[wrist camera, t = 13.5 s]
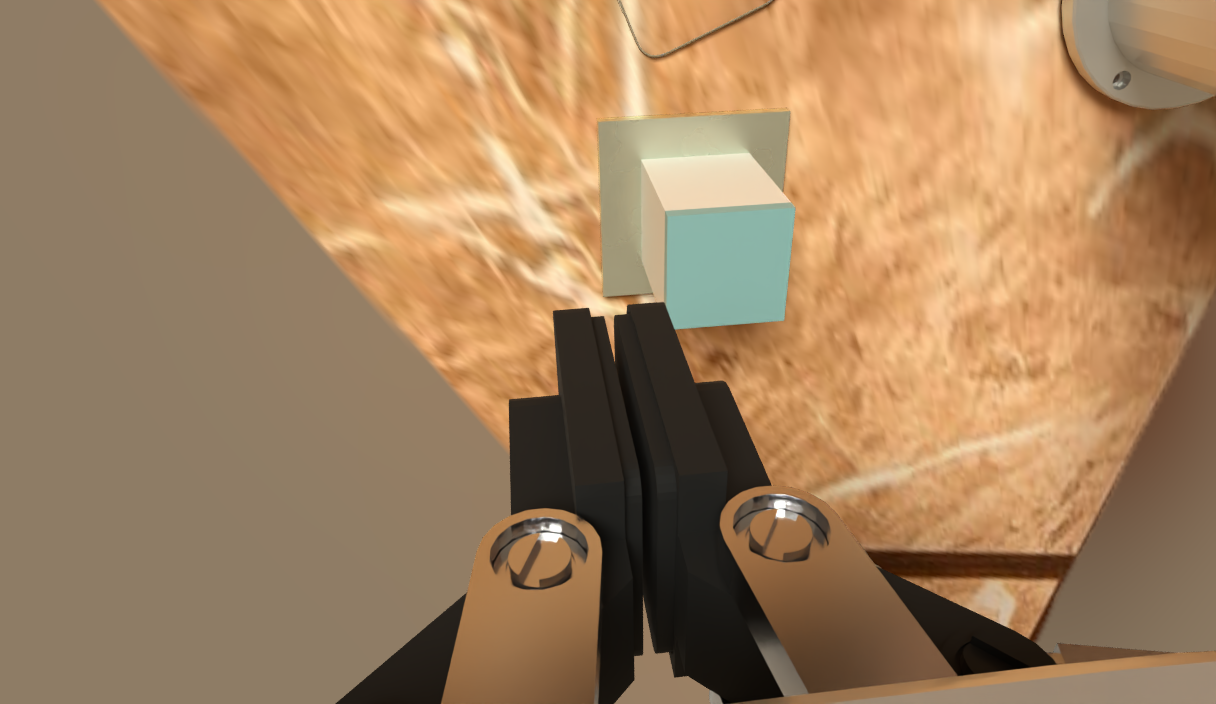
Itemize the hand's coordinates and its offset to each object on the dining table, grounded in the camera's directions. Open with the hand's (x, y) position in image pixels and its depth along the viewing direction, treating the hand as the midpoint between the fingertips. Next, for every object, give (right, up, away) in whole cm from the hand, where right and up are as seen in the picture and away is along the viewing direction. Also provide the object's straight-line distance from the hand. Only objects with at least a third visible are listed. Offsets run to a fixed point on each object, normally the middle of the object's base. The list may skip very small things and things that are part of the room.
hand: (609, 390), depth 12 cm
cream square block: (+4, +8, +28) cm, 29 cm away
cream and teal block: (+4, +8, +27) cm, 29 cm away
